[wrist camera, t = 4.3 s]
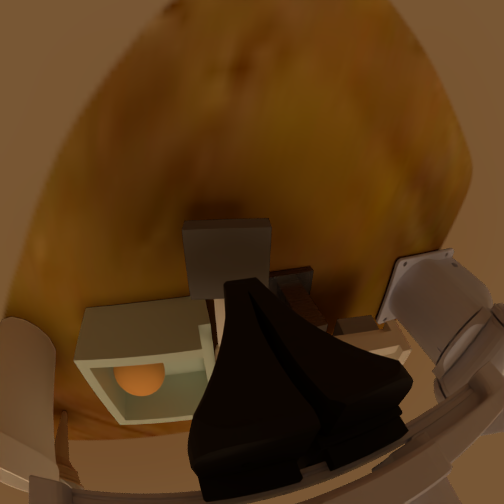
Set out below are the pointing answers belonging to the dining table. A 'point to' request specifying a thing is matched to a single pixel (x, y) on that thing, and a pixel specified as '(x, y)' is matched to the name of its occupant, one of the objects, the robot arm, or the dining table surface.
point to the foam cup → (26, 404)
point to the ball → (140, 378)
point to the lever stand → (297, 293)
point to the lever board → (263, 278)
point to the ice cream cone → (65, 456)
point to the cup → (148, 356)
